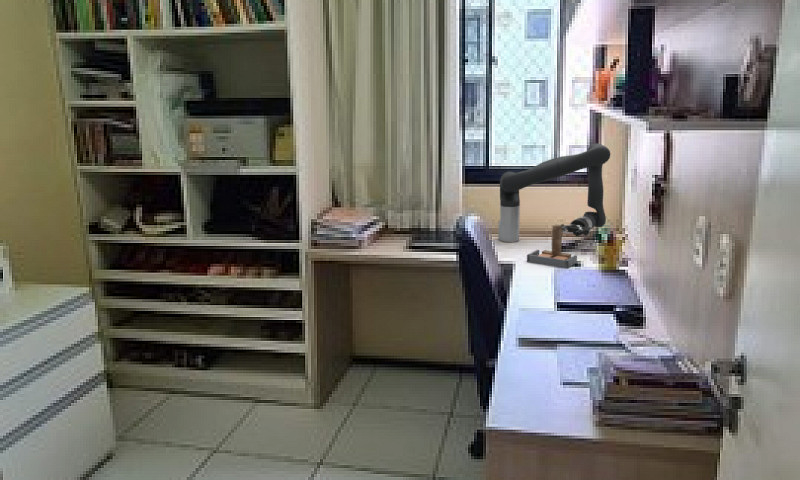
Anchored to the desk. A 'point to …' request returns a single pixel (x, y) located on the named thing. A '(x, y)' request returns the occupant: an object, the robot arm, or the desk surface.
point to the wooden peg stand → (556, 243)
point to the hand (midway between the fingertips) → (567, 233)
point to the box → (551, 260)
